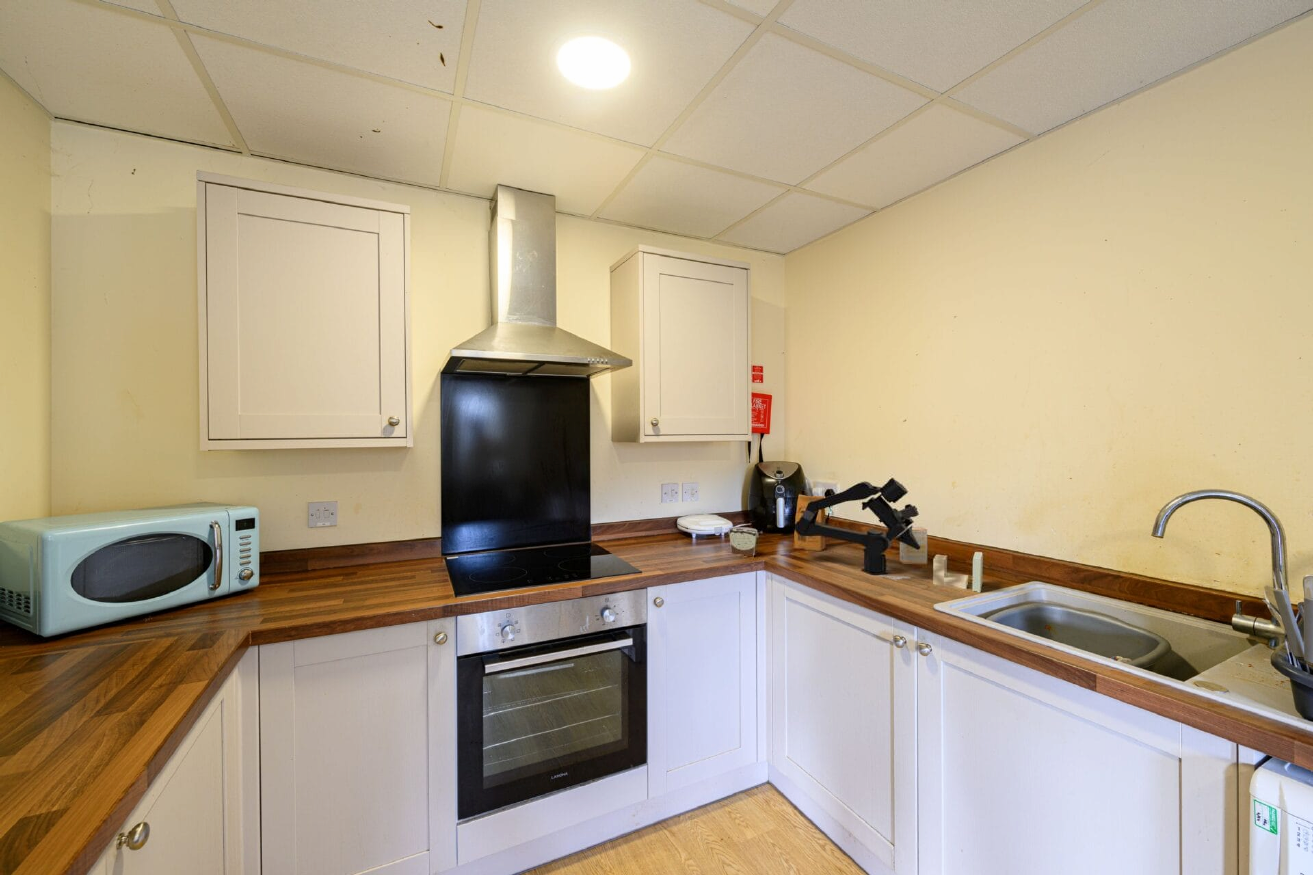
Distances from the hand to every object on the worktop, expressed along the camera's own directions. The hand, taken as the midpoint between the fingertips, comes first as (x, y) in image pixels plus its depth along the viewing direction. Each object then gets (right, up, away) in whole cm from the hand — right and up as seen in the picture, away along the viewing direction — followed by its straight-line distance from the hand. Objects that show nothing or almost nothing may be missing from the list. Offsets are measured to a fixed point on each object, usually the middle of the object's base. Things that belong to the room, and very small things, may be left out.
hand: (919, 548), depth 173 cm
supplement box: (+8, -10, +21) cm, 24 cm away
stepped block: (+7, -10, -5) cm, 14 cm away
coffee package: (-23, -9, +44) cm, 51 cm away
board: (+13, -10, -9) cm, 19 cm away
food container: (-52, -9, +33) cm, 62 cm away
